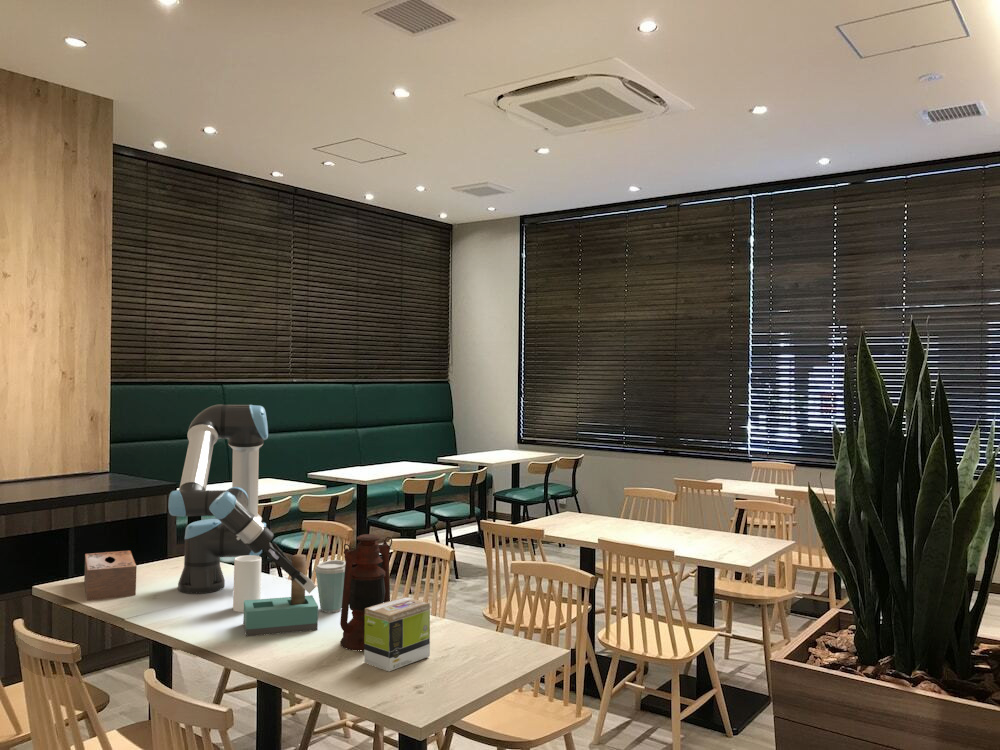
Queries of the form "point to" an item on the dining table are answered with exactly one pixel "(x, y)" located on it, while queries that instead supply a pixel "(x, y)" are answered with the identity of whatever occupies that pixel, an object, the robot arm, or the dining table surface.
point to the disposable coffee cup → (330, 584)
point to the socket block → (279, 616)
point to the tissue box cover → (110, 575)
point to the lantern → (363, 586)
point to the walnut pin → (296, 588)
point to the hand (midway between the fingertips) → (311, 587)
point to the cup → (246, 580)
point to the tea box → (397, 633)
